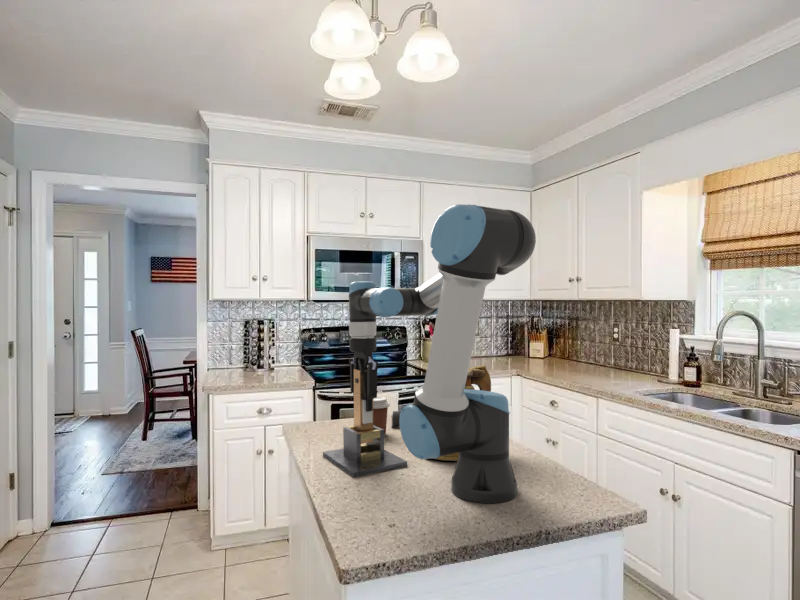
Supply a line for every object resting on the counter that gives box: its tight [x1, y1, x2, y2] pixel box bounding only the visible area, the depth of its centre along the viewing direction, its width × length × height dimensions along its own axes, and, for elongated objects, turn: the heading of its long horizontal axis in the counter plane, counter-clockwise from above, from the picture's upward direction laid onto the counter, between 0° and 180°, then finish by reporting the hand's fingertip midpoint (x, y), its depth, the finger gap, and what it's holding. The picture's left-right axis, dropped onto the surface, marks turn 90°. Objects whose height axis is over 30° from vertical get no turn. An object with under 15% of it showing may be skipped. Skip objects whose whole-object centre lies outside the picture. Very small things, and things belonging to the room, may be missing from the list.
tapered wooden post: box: [353, 369, 374, 445], centre depth 134 cm, size 4×4×20 cm
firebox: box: [322, 425, 408, 478], centre depth 134 cm, size 20×16×9 cm
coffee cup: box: [373, 396, 391, 436], centre depth 161 cm, size 9×9×12 cm
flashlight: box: [391, 410, 401, 428], centre depth 172 cm, size 15×5×5 cm, turn 89°
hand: (363, 420), depth 134 cm, fingers closed on tapered wooden post, 4 cm apart
